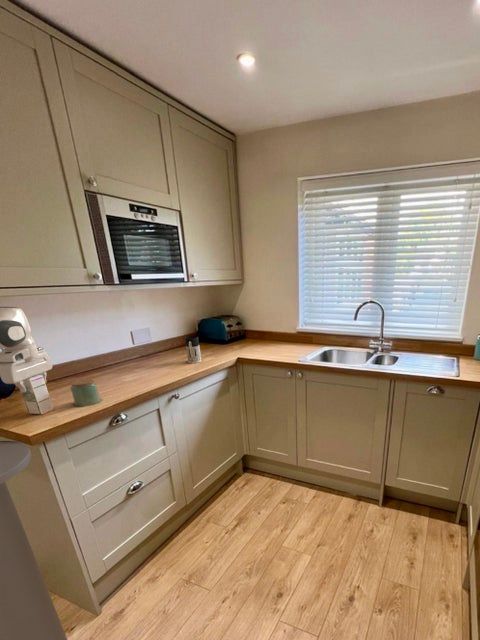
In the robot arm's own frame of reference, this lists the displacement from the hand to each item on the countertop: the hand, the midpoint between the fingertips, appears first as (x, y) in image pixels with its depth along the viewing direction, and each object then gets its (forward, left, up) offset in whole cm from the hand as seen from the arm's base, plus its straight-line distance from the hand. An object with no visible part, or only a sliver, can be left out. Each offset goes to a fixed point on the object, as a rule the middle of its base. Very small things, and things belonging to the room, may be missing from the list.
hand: (34, 387), depth 126 cm
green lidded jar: (+10, -12, -10) cm, 18 cm away
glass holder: (+77, -36, -10) cm, 85 cm away
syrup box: (0, 0, -10) cm, 10 cm away
